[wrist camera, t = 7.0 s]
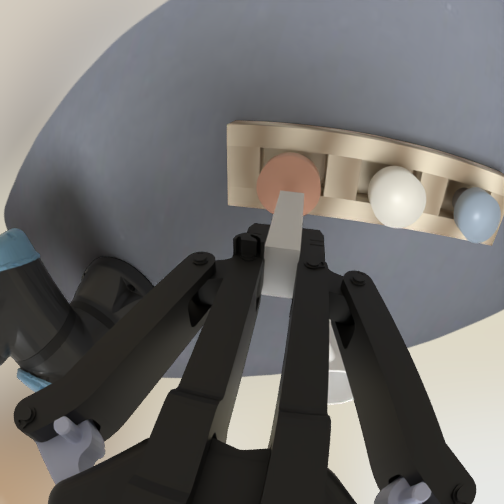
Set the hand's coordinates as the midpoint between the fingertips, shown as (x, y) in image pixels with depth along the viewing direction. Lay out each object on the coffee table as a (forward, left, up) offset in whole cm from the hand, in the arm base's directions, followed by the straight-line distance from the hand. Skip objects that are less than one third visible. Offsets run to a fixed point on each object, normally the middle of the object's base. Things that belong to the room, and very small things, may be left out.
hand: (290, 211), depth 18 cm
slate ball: (+18, 0, -9) cm, 20 cm away
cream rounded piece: (+9, 0, -9) cm, 12 cm away
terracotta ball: (0, 0, -8) cm, 8 cm away
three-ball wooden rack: (+9, 0, -11) cm, 14 cm away
